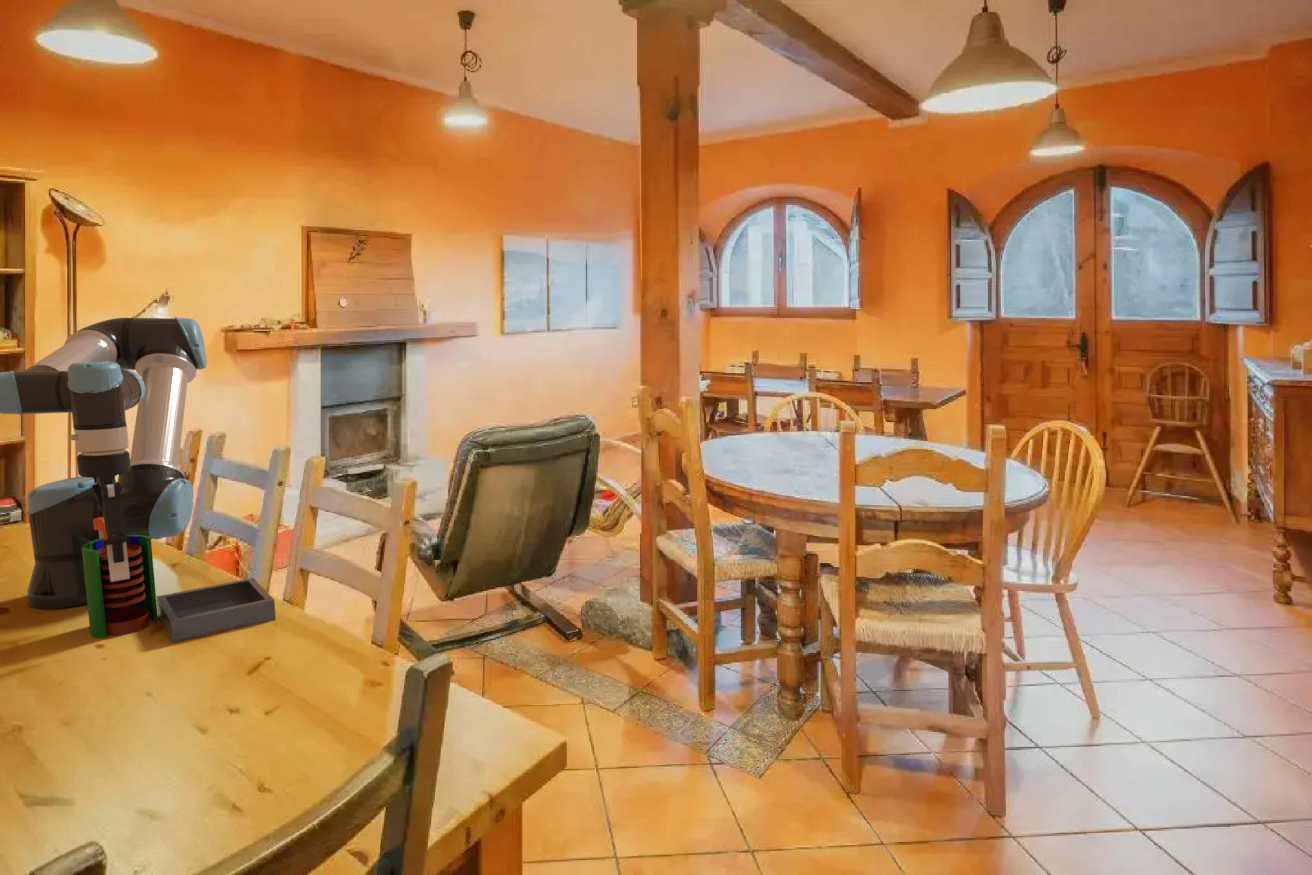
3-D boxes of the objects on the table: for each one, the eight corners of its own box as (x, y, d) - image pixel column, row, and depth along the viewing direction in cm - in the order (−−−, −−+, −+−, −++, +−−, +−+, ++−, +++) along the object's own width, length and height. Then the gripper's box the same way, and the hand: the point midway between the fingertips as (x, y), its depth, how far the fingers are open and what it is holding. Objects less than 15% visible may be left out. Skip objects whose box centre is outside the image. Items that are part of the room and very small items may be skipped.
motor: (119, 640, 136) (106, 528, 133) (75, 635, 138) (62, 525, 134) (166, 618, 146) (155, 513, 142) (125, 614, 147) (113, 510, 144)
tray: (158, 615, 147) (156, 596, 146) (254, 595, 157) (253, 577, 156) (172, 642, 135) (170, 621, 134) (275, 619, 145) (274, 599, 145)
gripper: (70, 444, 143) (83, 557, 147) (82, 464, 125) (96, 593, 128) (120, 440, 148) (131, 549, 151) (138, 459, 129) (151, 583, 133)
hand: (115, 570), depth 140 cm, fingers open, 13 cm apart
